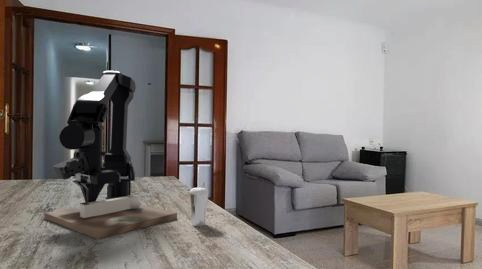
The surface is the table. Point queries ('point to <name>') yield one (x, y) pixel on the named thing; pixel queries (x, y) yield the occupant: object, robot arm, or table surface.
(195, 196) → the milkshake
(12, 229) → the table surface
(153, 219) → the plate
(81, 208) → the peg lever
